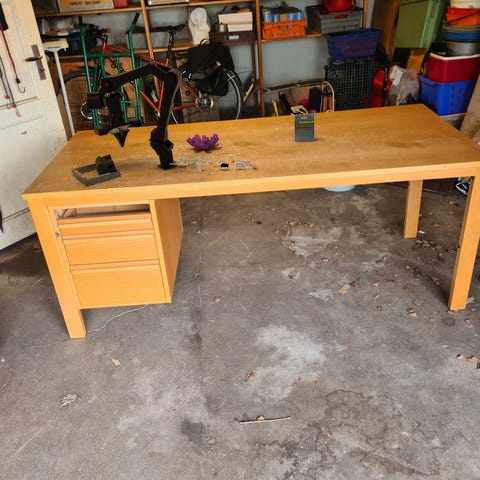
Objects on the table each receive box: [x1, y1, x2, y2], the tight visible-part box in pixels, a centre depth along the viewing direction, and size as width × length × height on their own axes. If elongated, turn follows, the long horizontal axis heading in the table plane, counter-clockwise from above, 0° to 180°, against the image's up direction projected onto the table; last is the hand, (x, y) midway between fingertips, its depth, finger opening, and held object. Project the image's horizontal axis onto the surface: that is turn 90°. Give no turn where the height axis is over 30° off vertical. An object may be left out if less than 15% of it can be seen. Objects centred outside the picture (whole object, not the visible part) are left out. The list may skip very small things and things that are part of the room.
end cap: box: [94, 153, 118, 175], centre depth 187 cm, size 10×7×7 cm
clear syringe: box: [174, 154, 257, 173], centre depth 189 cm, size 6×35×12 cm
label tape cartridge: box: [294, 113, 315, 143], centre depth 208 cm, size 9×4×12 cm, turn 84°
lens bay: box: [71, 162, 121, 187], centre depth 188 cm, size 17×14×3 cm
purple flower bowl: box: [185, 133, 220, 150], centre depth 208 cm, size 11×15×10 cm
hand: (122, 147), depth 191 cm, fingers closed
